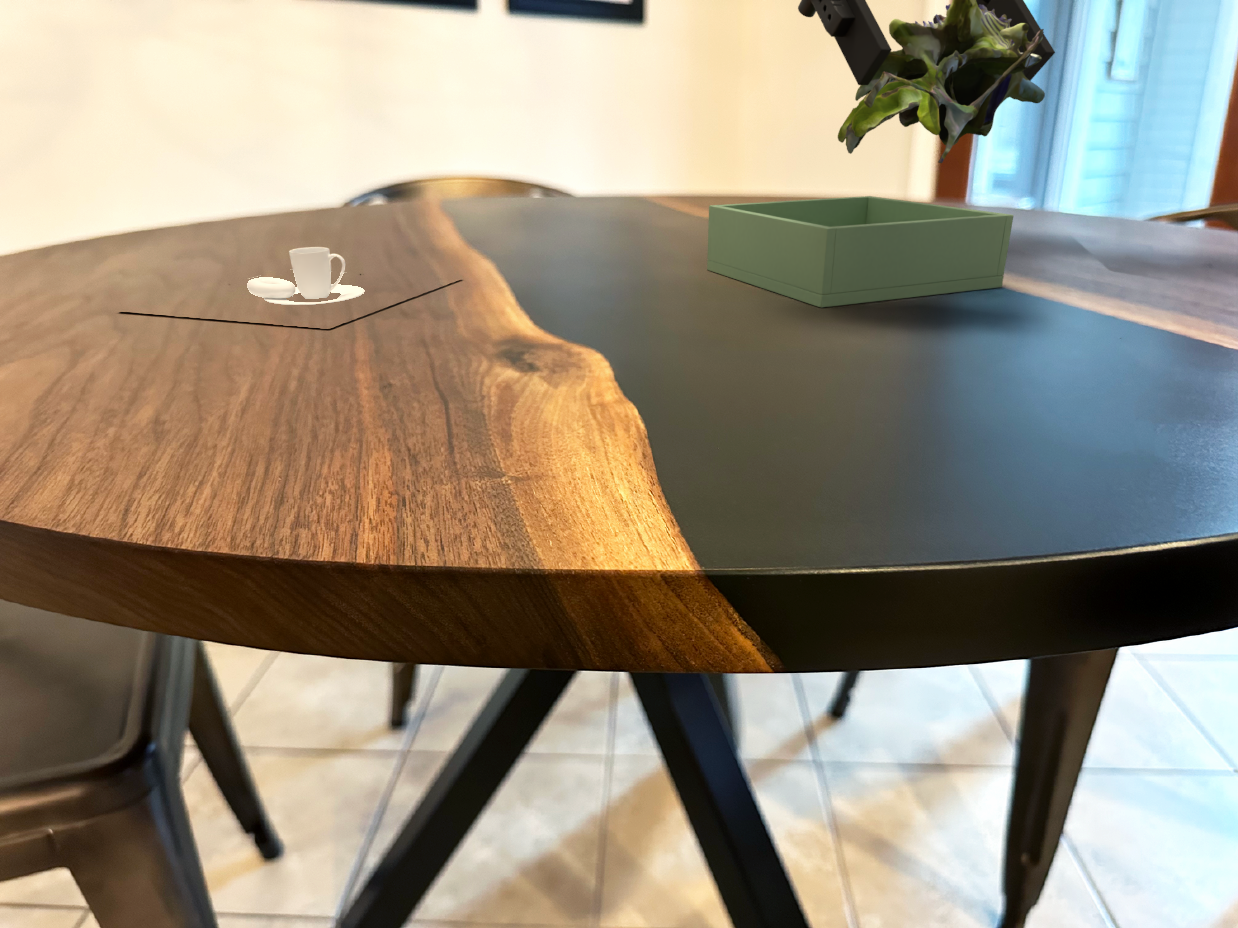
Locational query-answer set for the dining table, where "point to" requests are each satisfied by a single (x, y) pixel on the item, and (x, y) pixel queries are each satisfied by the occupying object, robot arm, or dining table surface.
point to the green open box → (858, 248)
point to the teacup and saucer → (305, 280)
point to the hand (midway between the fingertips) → (959, 69)
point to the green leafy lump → (948, 75)
